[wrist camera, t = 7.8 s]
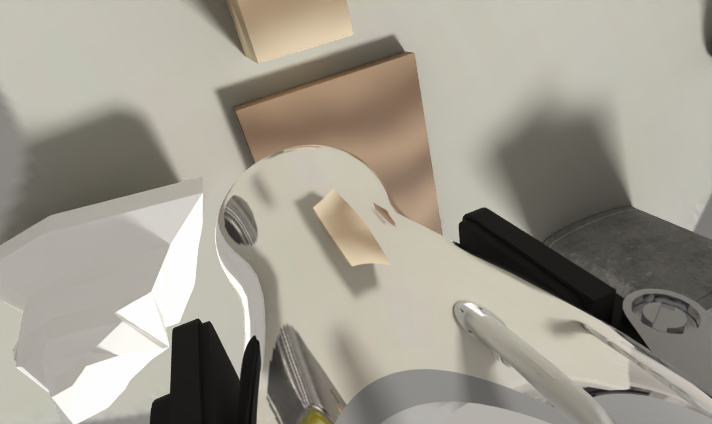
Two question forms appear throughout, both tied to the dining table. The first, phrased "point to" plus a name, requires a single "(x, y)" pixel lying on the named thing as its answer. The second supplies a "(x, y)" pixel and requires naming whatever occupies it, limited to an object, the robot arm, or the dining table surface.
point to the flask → (639, 253)
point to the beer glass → (411, 317)
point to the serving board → (357, 127)
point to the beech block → (287, 25)
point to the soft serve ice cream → (101, 291)
